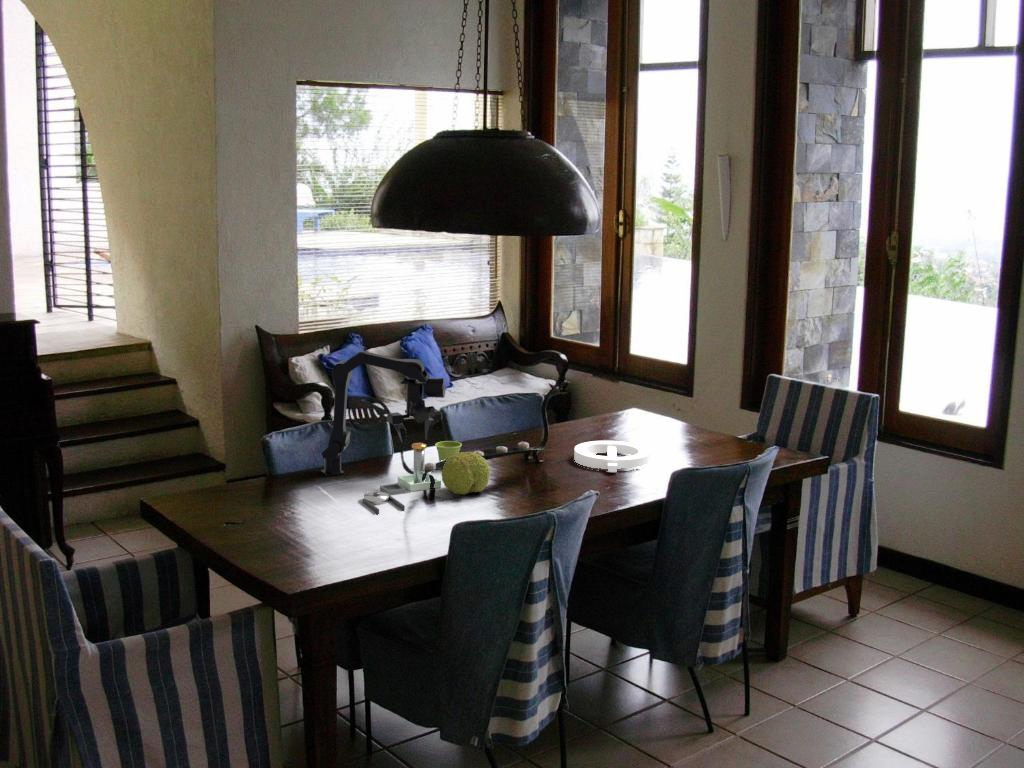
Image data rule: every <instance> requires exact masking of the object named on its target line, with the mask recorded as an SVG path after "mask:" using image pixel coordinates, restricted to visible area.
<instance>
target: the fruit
mask: <svg viewBox="0 0 1024 768" xmlns="http://www.w3.org/2000/svg"><path fill="white" fill-rule="evenodd" d="M490 473H491V469H490V466H489V464H488V461H487V460H486V458H484V457H483V456H481V455H480V454H479V453H475V452H471V451H466V452H465V451H461V452H459V453H457V454H454V455H452V456H450V457H449V458H448V459H447V460H446V462H445V464H444V466H443V469H442V470H441V482H443V484H444V487H445V488H447V489H448V491H450V492H452V493H453V494H455V495H467V494H470V493H478V492H482V491H484V489H486V486H487V485H488V484H489V480H490Z"/></svg>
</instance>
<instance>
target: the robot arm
mask: <svg viewBox="0 0 1024 768" xmlns="http://www.w3.org/2000/svg"><path fill="white" fill-rule="evenodd" d="M362 364H364V365H369V366H373V367H378V368H382V369H385V370H390V371H395V372H397V373H399V374H400V375H401V376H404V378H403V379H402V380H401V382H400V384H401V385H406V398H404V402H405V403H406V408H405V410H404V414H402V413H399V412H396V411H395V412H388V414H387V415H386V422H388V423H390V424H391V425H393V427H394V429H395V430H396V432H397V434H398V437H399V440H400V442H401V443H404V441H405V440H404V437H405V436H404V428H405V427H404V426H405V424H404V423H403V422H404V421H406V420H408V421H409V420H415V422H417V423H423V422H424V436H425V440H429V437H430V435H431V431H432V429H433V427H434V425H435V424H436V423H439V420H440V421H441V420H443V412H442V411H441V410H439V409H437V408H435V407H434V405H432V406H431V405H430V406H426V402H425V400H424V395H425V396H427V398H439V399H444V398H445V396H446V383H445V378H444V377H431V376H430V375H429V373H428V372H427V370H426V369H425V364H424V362H423V361H421V360H420V359H417V358H416V359H415V358H395V357H391V356H387V355H383V354H379V353H374V352H369V351H367V350H360V351H359V352H358V353H356V354H355V355H353V356H351V358H348V359H347V360H346V359H345V360H344V359H343V360H340V361H339V362H337V363H336V364H334V365H333V366H332V370H331V373H332V381H333V385H334V405H333V423H332V424H333V425H332V429H331V432H330V436H329V439H328V443H327V447H325V449H324V450H322V452H321V456H322V458H323V459H324V469H321V472H322V474H324V475H325V476H327V477H328V476H337V475H345V471H343V470H342V454H343V452H344V451H345V449H346V448H347V447H348V445H349V444H350V443H351V438H350V437H351V430H347V427H346V425H347V424H346V422H347V421H346V420H347V406H348V405H347V404H348V402H347V401H348V388H349V385H350V381H351V378H352V375H353V370H355V369H356V368H358V367H359V366H361V365H362Z"/></svg>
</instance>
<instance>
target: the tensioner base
mask: <svg viewBox="0 0 1024 768" xmlns="http://www.w3.org/2000/svg"><path fill="white" fill-rule="evenodd" d="M375 490H376V492H384V493H387V494H389V495H390V496H391V497H392V496H396V495H398V496H399V495H403V494H411V492H410V491H409V490H407V489H406V488H404V487H403V486H401V485H400V484H398V483H392V484H385V485H379V488H375Z"/></svg>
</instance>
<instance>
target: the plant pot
mask: <svg viewBox="0 0 1024 768" xmlns="http://www.w3.org/2000/svg"><path fill="white" fill-rule="evenodd" d="M434 445H435V447H436V450H437V454H438V462H439V461H441V460H444V459H446V458H449V457H450V456H452V455H454V454H457V453H460V450H461V447H462V442H459V441H453V440H444V441H443V440H442V441H439V442H438V441H437V442H436V443H435V444H434Z"/></svg>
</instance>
